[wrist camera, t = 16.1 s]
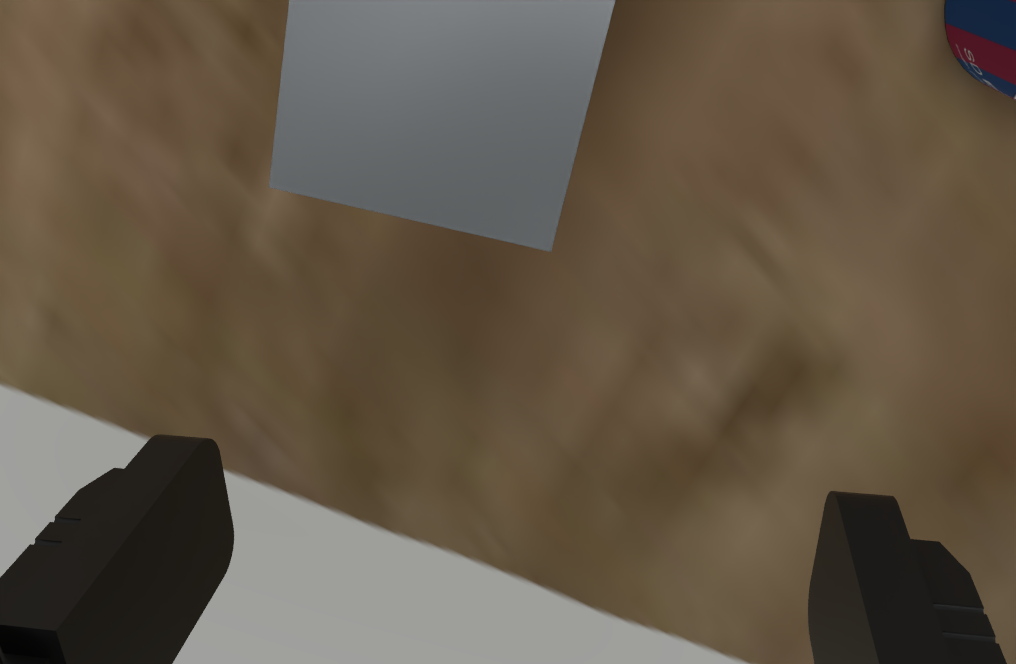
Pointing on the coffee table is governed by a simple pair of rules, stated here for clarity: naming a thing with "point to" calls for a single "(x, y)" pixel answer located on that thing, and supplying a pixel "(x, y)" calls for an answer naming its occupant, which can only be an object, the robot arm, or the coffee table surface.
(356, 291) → the coffee table surface
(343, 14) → the gray legged block
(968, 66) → the mug
